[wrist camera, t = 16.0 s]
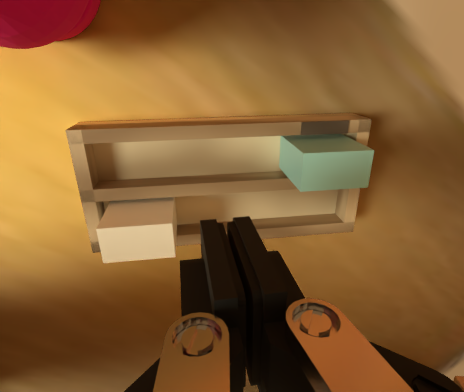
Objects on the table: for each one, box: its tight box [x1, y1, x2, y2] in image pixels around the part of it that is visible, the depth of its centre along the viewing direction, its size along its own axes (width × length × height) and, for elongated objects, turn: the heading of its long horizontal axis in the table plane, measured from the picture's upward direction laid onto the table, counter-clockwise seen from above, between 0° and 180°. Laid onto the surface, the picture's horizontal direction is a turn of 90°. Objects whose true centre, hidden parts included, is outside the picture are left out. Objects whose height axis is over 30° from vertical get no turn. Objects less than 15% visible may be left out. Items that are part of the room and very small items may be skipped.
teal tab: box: [279, 134, 374, 192], centre depth 19 cm, size 2×4×4 cm, turn 91°
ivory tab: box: [96, 197, 177, 263], centre depth 19 cm, size 2×4×4 cm, turn 90°
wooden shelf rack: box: [66, 113, 372, 253], centre depth 21 cm, size 8×18×3 cm, turn 90°
